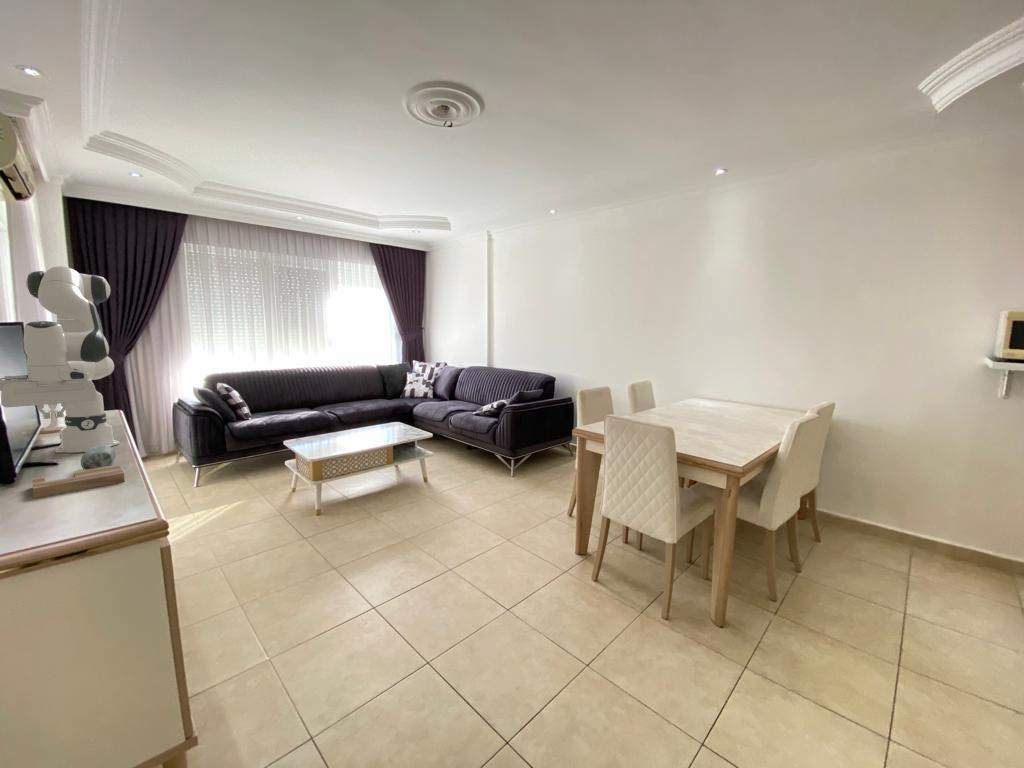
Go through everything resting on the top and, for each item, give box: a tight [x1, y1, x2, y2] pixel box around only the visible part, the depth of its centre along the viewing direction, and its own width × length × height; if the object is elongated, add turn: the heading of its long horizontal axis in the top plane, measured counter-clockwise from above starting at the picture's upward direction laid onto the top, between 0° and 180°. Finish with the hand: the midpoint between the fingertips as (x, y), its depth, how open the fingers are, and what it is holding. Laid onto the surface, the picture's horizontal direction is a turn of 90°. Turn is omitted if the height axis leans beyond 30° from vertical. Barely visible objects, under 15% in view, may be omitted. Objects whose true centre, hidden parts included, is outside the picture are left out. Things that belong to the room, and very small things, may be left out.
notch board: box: [31, 464, 125, 499], centre depth 136 cm, size 12×20×3 cm, turn 139°
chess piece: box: [42, 404, 66, 431], centre depth 131 cm, size 5×5×10 cm
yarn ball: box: [80, 446, 117, 470], centre depth 150 cm, size 14×10×10 cm
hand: (53, 417), depth 132 cm, fingers closed on chess piece
